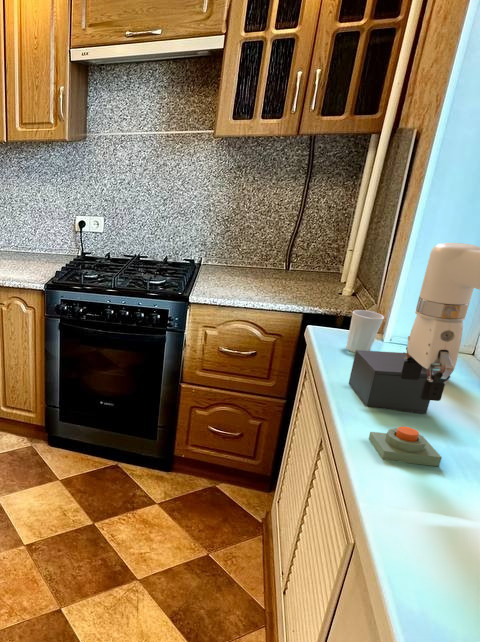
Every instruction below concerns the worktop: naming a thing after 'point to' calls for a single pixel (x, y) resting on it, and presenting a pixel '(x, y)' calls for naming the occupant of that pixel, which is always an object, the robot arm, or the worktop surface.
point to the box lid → (386, 362)
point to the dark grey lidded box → (387, 389)
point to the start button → (407, 434)
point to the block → (404, 449)
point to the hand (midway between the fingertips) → (419, 388)
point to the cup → (363, 330)
